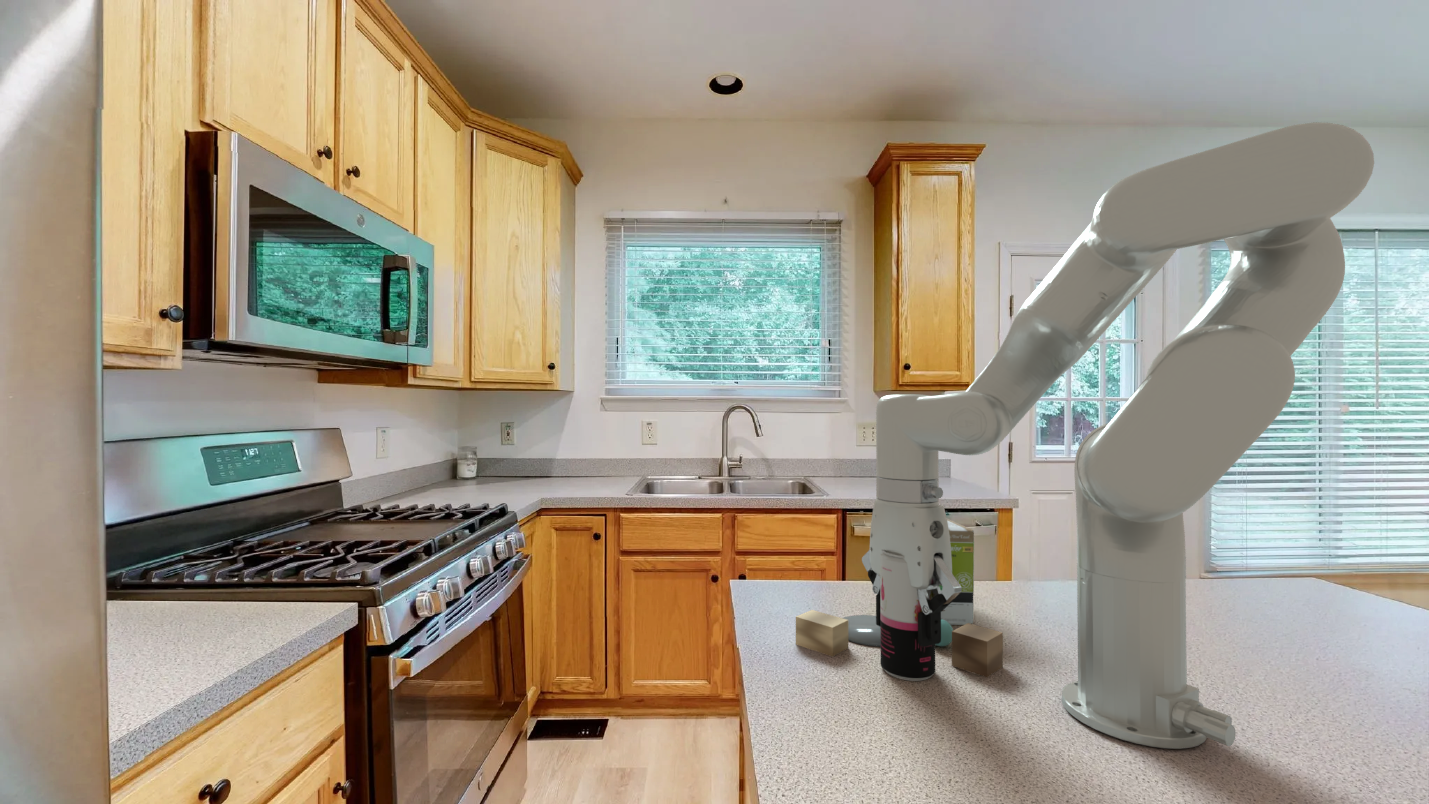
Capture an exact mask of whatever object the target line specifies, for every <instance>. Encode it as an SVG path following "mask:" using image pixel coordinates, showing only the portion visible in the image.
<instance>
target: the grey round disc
mask: <svg viewBox="0 0 1429 804" xmlns="http://www.w3.org/2000/svg"><path fill="white" fill-rule="evenodd" d="M842 618H843V619H847V620H848V642H852V643H855V644H859V645H863V646H870V647H880V648H881V630H880V626H878V625H876V615H872V614H870V615H869V614H858V615H857V614H854V615H848V616H844V617H842Z"/></svg>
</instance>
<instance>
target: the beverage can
mask: <svg viewBox="0 0 1429 804" xmlns="http://www.w3.org/2000/svg"><path fill="white" fill-rule="evenodd" d="M882 552H883V553H882V554H881V555H880V630H881V647H880V667H882V669H883V670H884V671H885V672H886V673H887V674H888V675H889V676H891V677H894V678H896V679H900V680H904V681H909V682H910V681H911V682H913V681H914V682H920V681H926V680H928V679H930V678H931V677H932V676H934V675H935V673H936V645H930V646H926V647H922V646H920V645H919V643H918V612H923V611H922V608H921V605H920V602H919V598H918V595H917V589H916V588H914V587H912V586H911V585H910V579H909V574H908V567H907V562H906V561H905V560H904V559H903V558H905V556H900V555H894V554H890V553H887V552H885V551H884V550H882ZM931 584H932V578H931V579H929V585H931ZM927 593H928V596H929V599H930V600H931V599H932V590H929V591H927Z"/></svg>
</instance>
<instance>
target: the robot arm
mask: <svg viewBox="0 0 1429 804" xmlns="http://www.w3.org/2000/svg"><path fill="white" fill-rule="evenodd" d="M1374 165H1375V155H1374V151H1373V149H1372V147H1371V144H1370V143H1369V141H1368V140H1367V139H1366V138H1365V137H1364V136H1363V134H1361V133H1360V132H1358V131H1357V130H1356V129H1354V128H1351V127H1348V126H1346V125H1343V124H1338V123H1333V122H1322V121H1321V122H1318V121H1317V122H1307V123H1305V122H1304V123H1299V124H1293V125H1288V126H1285V127H1281V128H1277V129H1274V130H1270V131H1267V132H1263V133H1260V134H1257V135H1253V136H1251V137H1248V138H1244V139H1240V140H1237V141H1234V142H1230V143H1227V144H1224V145H1221V146H1218V147H1214V148H1211V149H1208V150H1203V151H1201V152H1200V151H1199V152H1198V153H1194V154H1191V155H1187V156H1184V157H1180V158H1177V159H1174V160H1171V161H1167V162H1164V163H1161V164H1158V165H1155V166H1151V167H1148V168H1146V169H1142V170H1141V171H1138V172H1135V173H1133V174H1130V175H1128V176H1126V177H1123V179H1120V180H1119V181H1117V182H1116V183H1114V184H1113V185H1112V186H1110V187H1109V188H1108V189H1107V190H1106V191H1104V193H1103V194H1102V196H1101V197H1100V199H1099V200H1098V202H1097V203H1096V206H1095V207H1094V210H1093V213H1092V219H1091V222H1090V223H1089V224H1088V225H1087V227H1086V228H1085V229H1084V230H1083V232H1082V233H1081V234H1080V235H1079V236H1078V237H1077V239H1076V240H1075V241H1074V242H1073V244H1072V245H1071V246H1070V247H1069V249H1068V250H1067V251H1066V252H1065V253H1064V255H1063V256H1062V257H1061V258H1060V260H1059V261H1058V262H1057V263H1056V265H1054V267H1053V268H1052V269H1051V270H1050V271H1049V273H1048V274H1047V275H1046V276H1045V277H1044V278H1043V280H1041V282H1039V283H1040V284H1039V285H1037V287H1036V288H1035V289H1034V291H1033V292H1032V293H1031V294H1030V295H1029V297H1027V299H1025V301H1024V302H1023V303H1022V305H1021V307H1020V308H1019V310H1018V312H1017V313H1016V315H1015V316H1014V318H1013V321H1012V323H1011V325H1010V328H1009V330H1008V333H1007V335H1006V336H1005V338H1004V340H1003V342H1002V343H1001V345H1000V347H999V349H998V350H997V352H995V354H994V356H993V357H992V358H991V360H990V361H989V363H988V364H987V365H986V366H985V367H984V369H982V371H981V372H980V373H979V374H978V376H977V377H976V378H975V379H974V381H973V382H972V383H971V384H970V385H969V387H968V388H967V389H966V390H965V391H959V392H953V393H947V394H939V395H927V394H914V393H911V394H910V393H909V394H908V393H907V394H905V393H904V394H901V393H900V394H888V395H887V394H886V395H884V396H882V397H881V398H879V399H878V400H877V403H876V407H875V408H876V412H875V415H876V416H875V419H876V420H875V423H876V424H875V429H876V432H875V433H876V435H875V439H876V440H875V443H876V444H875V445H876V446H875V454H876V458H875V461H876V467H875V469H876V471H875V474H876V475H875V476H876V477H875V479H876V480H875V481H876V482H875V484H876V489H875V490H876V493H875V494H876V499H874V503H873V508H872V514H871V521H870V534H869V549H868V551H867V552H865V553H864V555H863V556H862V557H861V562H862V564H863V567H864V568H865V570H866V572H867V576H868V579H869V581H870V582H871V584H872V587H871V588H872V589H871V590H872V592H873V594H875V616H876V625H878V626H880V555H881V554H882V553H883V552H882V550H884V551H885V552H887V553H890V554H894V555H900V556H905V558H903V559H904V560H905V561H906V562H907V567H908V574H909V579H910V585H911V586H912V587H914V588H916V589H917V595H918V598H919V602H920V605H921V608H922V611H923V612H918V643H919V645H920V646H922V647H926V646H930V645H935V644H939V643H940V642H941V612H942V611H945V610H946V607H947V606H948V605H949V604H950V603H952V601H953V599H954V598H955V597H956V596H957V595H958V594H959V593H960V592H961V591H962V588H961V586H960V584H959V583H958V581H957V580H956V578H955V577H954V576H953V574H952V558H951V544H950V535H949V528H948V522H947V519H948V518H947V514H946V510H945V506H944V505H941V504H939V503H940V502H939V499H942V497H943V496H944V490H943V488H941V487H939V484H940V482H939V452H942V453H949V454H954V455H962V456H979V455H983V454H986V453H988V452H990V451H991V450H993V449H994V448H996V447H997V446H998V445H999V444H1001V443H1002V442H1003V441H1004V439H1006V437H1007V436H1008V435H1009V434H1010V433H1011V432H1012V430H1013V429H1014V428H1015V427H1016V426H1017V425H1018V423H1019V422H1020V421H1021V420H1022V419H1023V418H1024V416H1026V415H1027V413H1028V412H1029V411H1031V409H1032V408H1033V407H1034V406H1035V404H1036V403H1037V402H1038V401H1039V400H1040V399H1041V398H1042V397H1043V396H1044V395H1045V394H1046V392H1047V391H1048V390H1049V389H1050V388H1051V387H1052V385H1054V384H1055V382H1056V381H1057V380H1058V379H1059V378H1060V377H1062V376H1063V374H1064V373H1066V372H1067V371H1068V370H1070V368H1072V367H1073V366H1074V365H1076V364H1077V363H1078V362H1079V361H1080V360H1081V359H1082V357H1083V356H1084V355H1085V354H1086V353H1087V352H1088V351H1089V350H1090V348H1091V347H1092V346H1093V345H1094V344H1095V343H1096V342H1097V341H1098V339H1099V338H1100V337H1101V336H1102V335H1103V334H1104V333H1105V332H1106V331H1107V330H1108V328H1109V327H1110V326H1111V325H1112V324H1113V322H1115V320H1116V319H1117V318H1118V317H1119V316H1120V315H1121V314H1122V313H1123V312H1124V310H1126V308H1127V307H1128V306H1129V305H1130V303H1132V302H1133V300H1134V299H1135V298H1136V297H1137V296H1138V295H1139V294H1140V293H1141V292H1142V290H1143V289H1144V288H1145V287H1146V286H1147V285H1148V284H1149V283H1150V281H1151V280H1152V279H1154V277H1155V276H1156V275H1157V274H1158V273H1159V271H1161V269H1162V268H1163V267H1164V266H1165V265H1166V263H1167V262H1168V261H1170V259H1172V256H1174V253H1176V251H1178V250H1179V249H1183V248H1190V247H1194V246H1200V245H1204V244H1209V243H1214V242H1218V241H1222V240H1223V241H1224V242H1225V244H1226V246H1227V249H1228V251H1229V257H1230V262H1229V266H1228V267H1229V268H1228V270H1227V272H1226V273H1225V276H1224V277H1223V279H1221V282H1220V283H1219V284H1218V285H1217V287H1216V288H1215V289H1214V290H1213V291H1212V293H1211V294H1210V296H1209V297H1207V300H1206V301H1205V303H1204V304H1203V305H1202V306H1201V308H1200V309H1198V311H1197V312H1196V313H1195V314H1194V316H1193V317H1192V318H1191V319H1190V320H1189V322H1188V323H1187V324H1186V325H1185V326H1184V327H1183V328H1182V330H1181V331H1180V332H1179V333H1178V335H1176V337H1174V338H1173V339H1172V340H1171V342H1170V343H1168V344H1167V345H1166V346H1165V347H1164V348H1163V349H1161V351H1160V352H1158V353H1157V355H1156V356H1155V357H1154V359H1153V360H1152V361H1151V364H1150V365H1149V367H1148V369H1147V373H1146V376H1145V379H1143V381H1142V382H1141V384H1140V385H1139V386H1138V387H1137V388H1136V390H1135V391H1134V392H1133V393H1132V394H1131V396H1130V397H1129V398H1128V399H1127V400H1126V401H1125V403H1124V404H1123V405H1122V406H1121V407H1120V408H1119V410H1118V411H1117V412H1116V413H1115V415H1114V416H1113V417H1112V418H1111V420H1109V421H1108V422H1107V423H1105V424H1103V425H1100V426H1098V427H1097V428H1095V429H1093V430H1092V431H1090V432H1089V433H1088V434H1087V435H1086V436H1085V437H1084V438H1083V439H1082V441H1081V443H1080V444H1079V446H1078V449H1076V450H1077V451H1076V453H1075V459H1074V490H1075V492H1074V493H1075V507H1076V508H1075V510H1076V511H1075V512H1076V574H1077V575H1076V576H1077V577H1076V581H1077V582H1076V583H1077V585H1076V587H1077V588H1076V595H1077V596H1076V598H1077V600H1076V601H1077V606H1076V607H1077V608H1076V610H1077V614H1076V616H1077V617H1076V618H1077V680H1075V681H1072V682H1069V683H1067V684H1066V685H1065V686H1063V688H1062V690H1061V703H1062V705H1063V707H1064V709H1065V710H1066V711H1067V713H1069V714H1070V715H1072V717H1074V718H1075V719H1077V720H1078V721H1080V722H1081V723H1083V724H1084V725H1086V726H1088V727H1089V728H1091V729H1094V730H1095V731H1098V732H1100V733H1102V734H1105V735H1107V736H1111V737H1113V738H1116V739H1119V740H1121V741H1126V742H1129V743H1133V744H1137V745H1141V746H1146V747H1152V748H1157V749H1158V748H1159V749H1170V750H1171V749H1172V750H1173V749H1174V750H1179V749H1190V748H1194V747H1198V746H1200V745H1201V744H1203V743H1205V741H1206V740H1207V738H1208V739H1210V740H1212V741H1215V742H1217V743H1219V744H1222V745H1224V746H1227V747H1232V745H1233V744H1234V742H1235V739H1236V736H1237V735H1236V733H1237V732H1236V728H1235V726H1234V725H1233V721H1232V717H1231V716H1230V715H1228V714H1225V713H1223V712H1221V711H1218V710H1214V709H1210V708H1207V707H1205V706H1204V705H1203V703H1202V702H1200V695H1199V694H1200V689H1199V688H1198V687H1196V686H1193V685H1190V684H1188V683H1187V682H1188V680H1187V679H1188V678H1187V677H1188V676H1187V673H1188V671H1187V661H1188V660H1187V600H1186V599H1187V589H1186V587H1187V582H1186V580H1187V579H1186V578H1187V559H1186V558H1187V555H1186V554H1187V553H1186V552H1187V551H1186V535H1185V533H1186V532H1185V523H1184V512H1187V510H1189V509H1190V508H1192V507H1193V506H1195V504H1197V503H1198V502H1199V501H1200V500H1201V499H1202V498H1203V497H1204V496H1205V495H1206V494H1207V493H1208V492H1209V491H1210V490H1211V489H1212V488H1213V487H1214V486H1215V485H1216V484H1217V483H1218V482H1219V481H1220V479H1221V478H1223V476H1224V475H1225V474H1226V473H1227V472H1228V471H1229V470H1230V469H1231V468H1232V467H1233V465H1235V464H1236V463H1237V462H1238V460H1239V459H1240V458H1241V457H1242V456H1243V455H1244V454H1245V453H1246V451H1248V449H1249V448H1250V447H1252V445H1253V444H1254V443H1255V442H1256V441H1257V440H1259V438H1260V436H1262V434H1263V433H1264V432H1265V431H1266V430H1267V429H1268V427H1270V426H1271V425H1272V423H1273V422H1274V421H1275V419H1277V417H1279V415H1280V414H1281V413H1282V411H1283V410H1284V408H1285V406H1286V404H1287V403H1288V401H1289V399H1290V397H1291V395H1292V392H1293V389H1294V385H1295V380H1296V379H1295V378H1296V373H1295V370H1296V369H1295V365H1294V362H1293V359H1292V357H1291V356H1292V355H1293V354H1294V353H1295V352H1296V351H1297V350H1298V349H1299V347H1301V344H1302V343H1303V342H1304V341H1305V339H1306V338H1307V337H1308V336H1309V334H1310V333H1311V332H1312V331H1313V329H1315V328H1316V326H1317V325H1318V323H1320V321H1321V320H1322V319H1323V318H1324V317H1325V315H1326V314H1327V313H1328V311H1329V310H1330V309H1331V308H1332V305H1333V304H1334V303H1335V301H1336V299H1337V298H1338V295H1339V293H1340V292H1341V288H1342V286H1343V283H1344V280H1345V279H1344V278H1345V273H1346V260H1345V259H1346V258H1345V253H1344V247H1343V243H1342V239H1341V236H1340V234H1339V232H1338V230H1337V228H1336V226H1335V224H1334V222H1333V221H1332V219H1331V218H1333V217H1334V216H1336V215H1337V214H1338V213H1340V212H1342V210H1344V209H1345V208H1346V207H1348V206H1349V205H1351V203H1352V202H1354V200H1355V199H1357V198H1358V197H1359V196H1360V194H1362V192H1363V191H1364V189H1365V188H1366V187H1367V186H1368V183H1369V181H1370V178H1371V176H1372V174H1373V170H1374V167H1375V166H1374ZM931 578H932V584H931V585H929V579H931ZM939 585H941V586H943V589H942V590H940V587H939ZM929 590H932V599H931V600H930V599H929V596H928V593H927V591H929ZM935 646H936V645H935Z"/></svg>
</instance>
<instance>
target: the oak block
mask: <svg viewBox="0 0 1429 804" xmlns="http://www.w3.org/2000/svg"><path fill="white" fill-rule="evenodd" d="M843 618H844V617H839V616H836V615H833V614H829V613H825V612H822V611H819V610H815V609H810V610H808V611H806V612H803V613H801V614H799V615H796V616H795V645H797V646H800V647H801V648H806V649H808V650H811V651H814V652H818V653H820V654H823V655H826V656H829V657H831V658H833V657H835V656H837V655H838V654H840V653H842V652H844V651H846V650H848V649H849V640H848V620H847V619H843Z"/></svg>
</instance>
